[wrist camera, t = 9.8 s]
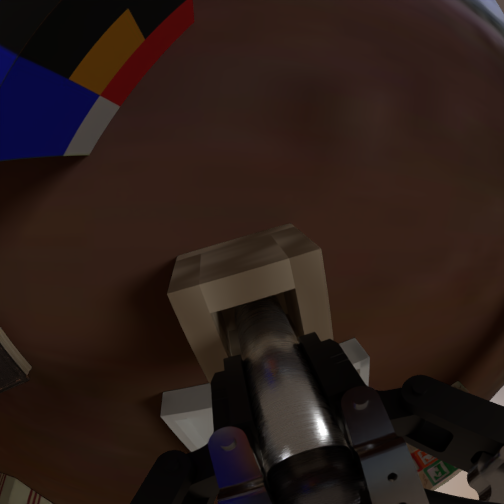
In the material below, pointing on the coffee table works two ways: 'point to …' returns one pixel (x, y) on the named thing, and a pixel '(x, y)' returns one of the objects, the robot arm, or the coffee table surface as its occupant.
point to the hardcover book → (11, 365)
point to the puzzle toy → (75, 67)
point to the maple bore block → (248, 290)
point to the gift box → (18, 492)
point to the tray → (200, 403)
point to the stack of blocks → (433, 463)
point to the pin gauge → (292, 413)
